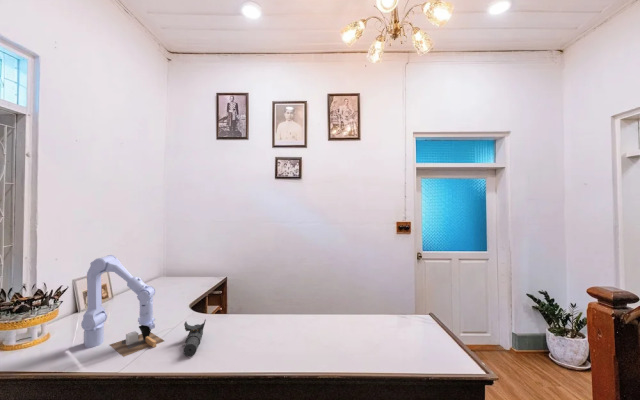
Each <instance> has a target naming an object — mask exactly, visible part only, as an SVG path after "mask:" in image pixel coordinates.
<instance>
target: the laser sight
mask: <svg viewBox="0 0 640 400" xmlns="http://www.w3.org/2000/svg"><path fill="white" fill-rule="evenodd" d="M187 322H188V321H187V320H186V321H184V324H183V325H184V329H185V332H188V334H187V337H186V339H185V345H184V347H183V350H182V351H183V354H184V355H185V356H186V357H192V356H194V355H195V354H196V352H197V350H198V347H199V346H200V344H201V341H202V337H203V334H204V329H205V328H204V327H205V323H206V322H207V319H206V318H205V319H204V321H203V322H202V323H201V324H197V323H196V324H194V325H191V324H188V323H187Z"/></svg>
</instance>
